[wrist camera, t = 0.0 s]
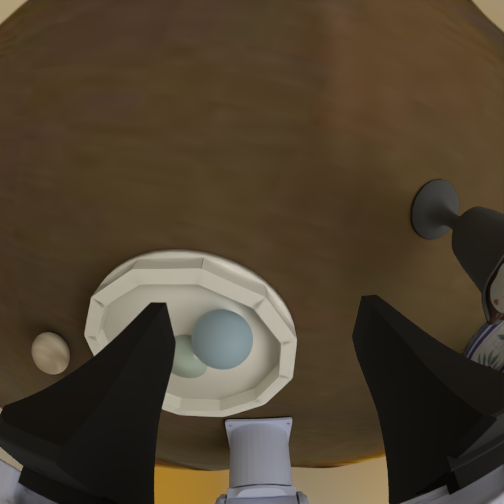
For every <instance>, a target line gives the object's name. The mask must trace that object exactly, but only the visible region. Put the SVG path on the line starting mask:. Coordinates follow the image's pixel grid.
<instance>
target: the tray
mask: <svg viewBox="0 0 504 504" xmlns="http://www.w3.org/2000/svg"><path fill="white" fill-rule="evenodd" d="M151 302H166V303H167V308H168V312H169V316H170V321H171V325H172V329H173V333H174V337H175V341H176V347H175V355H174V362H173V367H172V371H171V375H170V379H169V383H168V386H167V390H166V394H165V398H164V402H163V405H162V409H163V410H166V411H169V412H172V413H175V414H178V415H189V416H210V417H225V416H229V415H232V414H236V413H239V412H242V411H246V410H249V409H252V408H255V407H258V406H261V405H264V404H266V403H267V402H268V401H269V400H270V399H271V398H272V397H273V396H274V395H275V394H276V393H278V392H279V391H280V390H281V389H282V388H283V387H284V386H285V385H286V384H287V383H288V382H289V381H290V380H291V379H292V378H293V370H294V362H295V354H296V345H297V338H296V333H295V328H294V323H293V319H292V317H291V314H290V311H289V309H288V307H287V306H286V304H285V302H284V300H283V299H282V298H281V297H280V295H279V294H278V293H277V292H276V290H275V289H274V288H273V287H272V286H271V285H270V284H269V283H267V282H266V281H265V280H264V279H263V278H261V277H260V276H259V275H257V274H256V273H254V272H253V271H252V270H250V269H248V268H246V267H244V266H242V265H241V264H239V263H237V262H234V261H232V260H229V259H227V258H224V257H222V256H218V255H214V254H211V253H207V252H202V251H195V250H189V249H166V250H156V251H152V252H147V253H143V254H140V255H138V256H135V257H132V258H130V259H128V260H126V261H125V262H123V263H121V264H120V265H118V266H117V267H116V268H115V269H113V270H112V271H111V272H110V273H109V274H108V275H107V277H106V278H105V279H104V280H103V281H102V283H101V284H100V286H99V287H98V288H97V290H96V291H95V293H94V294H93V296H92V297H91V301H90V306H89V311H88V316H87V322H86V328H85V334H84V336H85V338H86V340H87V342H88V344H89V347H90V349H91V351H92V353H93V355H94V356H95V355H96V354H98V353H99V352H100V351H101V350H102V349H103V348H104V347H105V346H106V345H108V344H109V343H110V342H111V341H112V340H113V339H114V338H115V337H116V336H117V335H119V334H120V333H121V332H122V331H123V330H124V329H125V328H126V327H127V326H128V325H129V324H130V323H131V322H132V321H133V320H134V319H135V318H136V317H137V316H138V314H139V313H140V312H141V311H142V310H143V309H144V308H145V307H146V306H147V305H149V304H150V303H151ZM219 309H225V310H230V311H233V312H235V313H237V314H239V315H241V316H242V317H243V318H244V319H245V320H246V321H247V323H248V324H249V326H250V328H251V331H252V335H253V345H252V349H251V352H250V354H249V356H248V357H247V358H246V360H245V361H244V362H242V363H241V364H240V365H238V366H236V367H234V368H231V369H225V370H220V369H215V368H211V367H209V366H207V365H206V364H204V363H203V362H202V361H201V360H200V359H199V358H198V357H197V356H196V354H195V352H194V350H193V346H192V332H193V328H194V326H195V324H196V323H197V321H198V320H199V319H200V318H201V317H202V316H203V315H205V314H206V313H208V312H211V311H214V310H219Z"/></svg>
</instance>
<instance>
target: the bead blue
mask: <svg viewBox="0 0 504 504" xmlns="http://www.w3.org/2000/svg"><path fill="white" fill-rule="evenodd" d="M252 345H253V335H252V331H251V328H250V326H249V324H248V323H247V321H246V320H245V319H244V318H243V317H242V316H241V315H239V314H237V313H235V312H233V311H230V310H225V309H219V310H214V311H211V312H208V313H206V314H205V315H203V316H202V317H201V318H200V319H199V320H198V321H197V323H196V324H195V326H194V328H193V332H192V346H193V350H194V352H195V354H196V356H197V357H198V358H199V359H200V360H201V361H202V362H203V363H204V364H206V365H207V366H209V367H211V368H215V369H220V370H225V369H231V368H234V367H236V366H238V365H240V364H241V363H242V362H244V361H245V360H246V358H247V357H248V356H249V354H250V352H251V349H252Z"/></svg>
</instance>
